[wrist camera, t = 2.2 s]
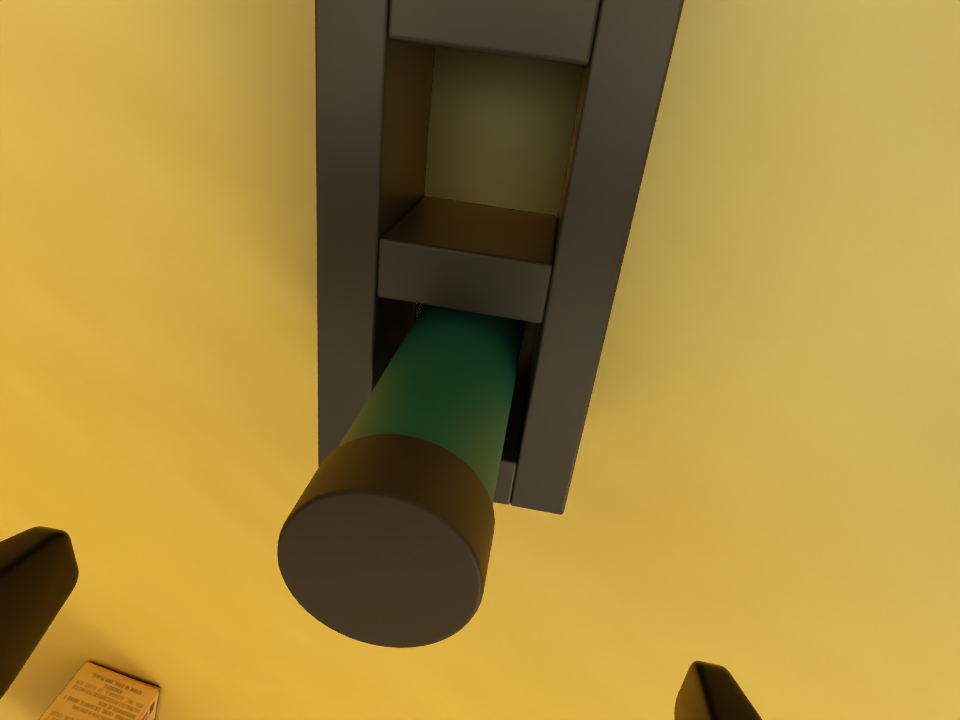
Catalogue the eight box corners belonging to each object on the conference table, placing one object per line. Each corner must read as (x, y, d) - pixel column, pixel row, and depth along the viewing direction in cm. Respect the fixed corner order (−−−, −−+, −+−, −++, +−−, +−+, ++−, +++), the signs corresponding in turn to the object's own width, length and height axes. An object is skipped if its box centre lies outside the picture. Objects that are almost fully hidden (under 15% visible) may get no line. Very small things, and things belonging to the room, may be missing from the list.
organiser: (722, -299, 12) (798, -480, 8) (565, 423, 20) (563, 516, 16) (395, -329, 12) (309, -512, 8) (368, 388, 20) (317, 470, 16)
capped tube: (537, 272, 18) (496, 514, 8) (521, 368, 19) (470, 667, 10) (429, 255, 18) (271, 472, 8) (422, 351, 19) (279, 627, 10)
